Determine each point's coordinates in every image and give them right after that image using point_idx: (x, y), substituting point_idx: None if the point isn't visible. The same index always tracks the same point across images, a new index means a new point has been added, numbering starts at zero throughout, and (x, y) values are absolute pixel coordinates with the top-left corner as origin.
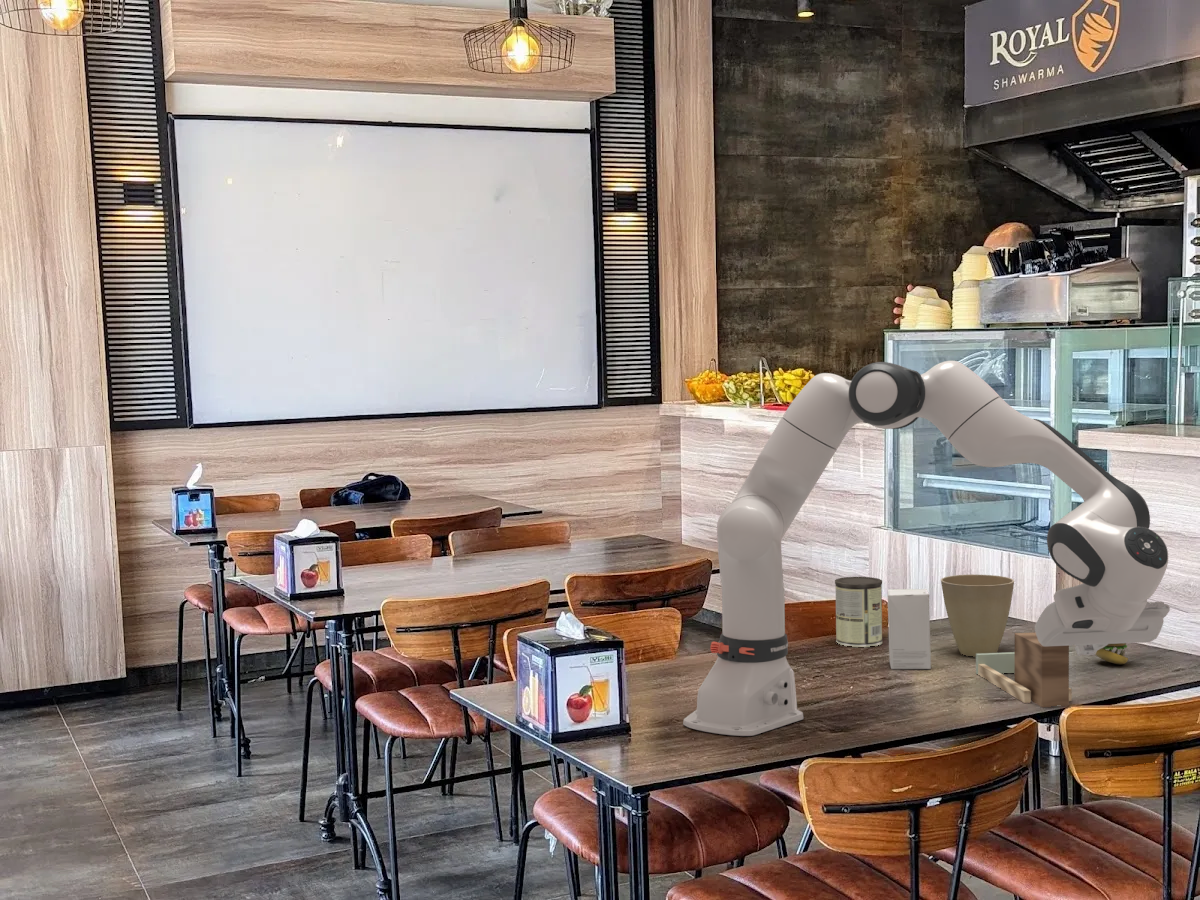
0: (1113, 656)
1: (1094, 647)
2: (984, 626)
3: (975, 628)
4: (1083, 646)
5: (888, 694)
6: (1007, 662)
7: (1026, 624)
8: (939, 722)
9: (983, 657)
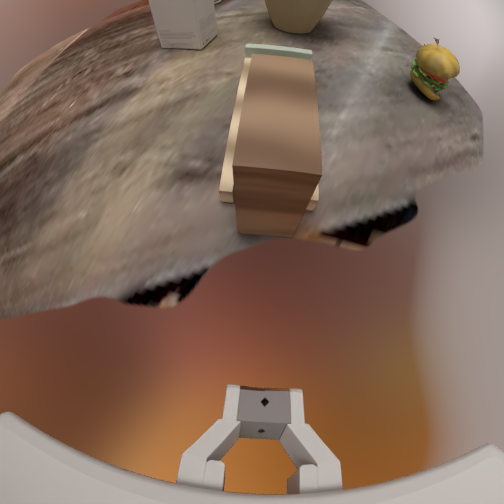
0: (427, 92)
1: (283, 442)
2: (292, 5)
3: (281, 5)
4: (238, 433)
5: (78, 131)
6: None
7: (371, 8)
8: (43, 277)
9: (253, 50)
